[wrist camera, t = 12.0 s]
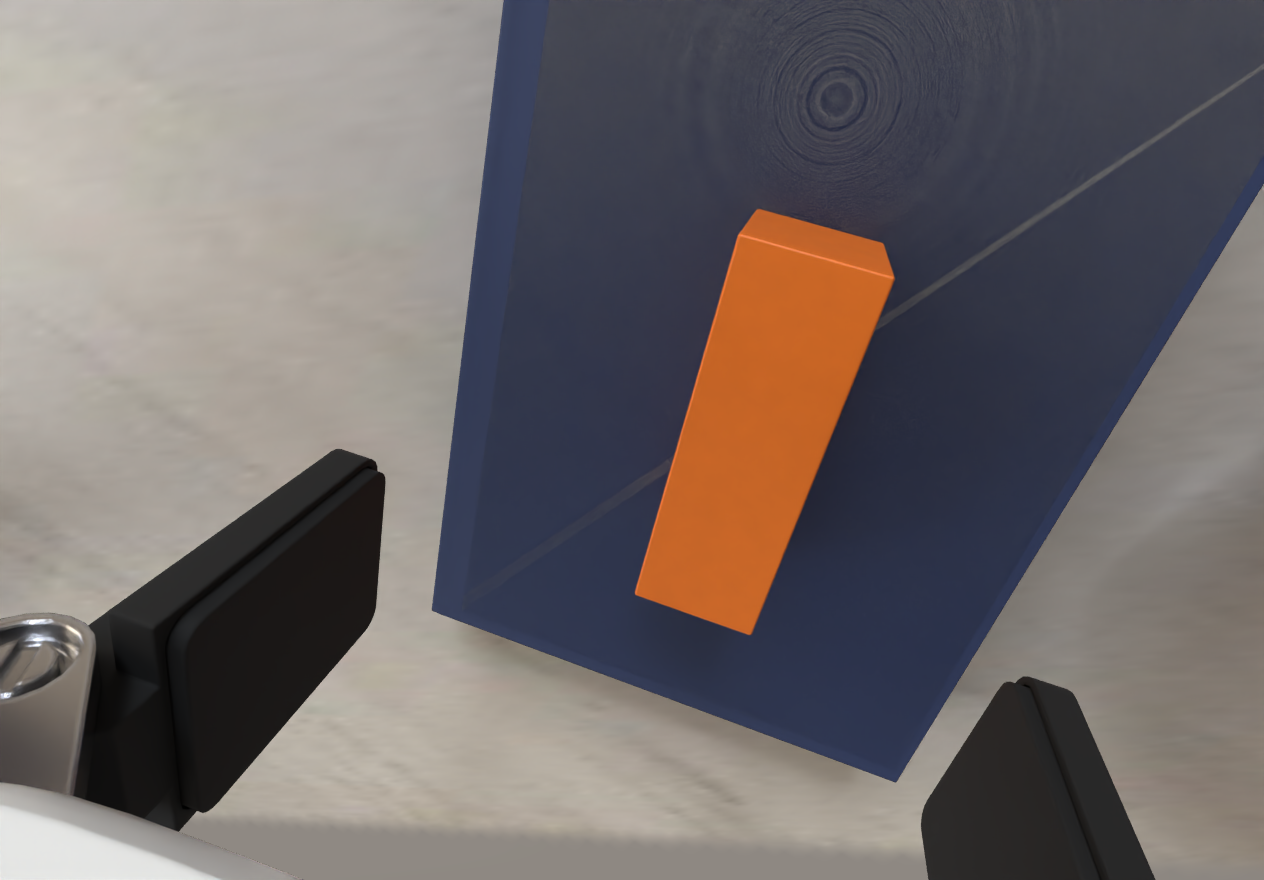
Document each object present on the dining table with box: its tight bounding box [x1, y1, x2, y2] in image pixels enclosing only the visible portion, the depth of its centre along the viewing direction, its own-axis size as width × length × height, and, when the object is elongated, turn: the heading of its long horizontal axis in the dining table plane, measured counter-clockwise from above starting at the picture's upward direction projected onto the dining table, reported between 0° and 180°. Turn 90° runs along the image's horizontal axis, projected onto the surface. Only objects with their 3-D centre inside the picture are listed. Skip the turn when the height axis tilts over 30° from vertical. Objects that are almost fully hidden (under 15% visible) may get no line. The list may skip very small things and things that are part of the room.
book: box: [432, 0, 1264, 782], centre depth 20 cm, size 16×22×3 cm
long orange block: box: [635, 209, 895, 635], centre depth 17 cm, size 3×9×4 cm, turn 168°
